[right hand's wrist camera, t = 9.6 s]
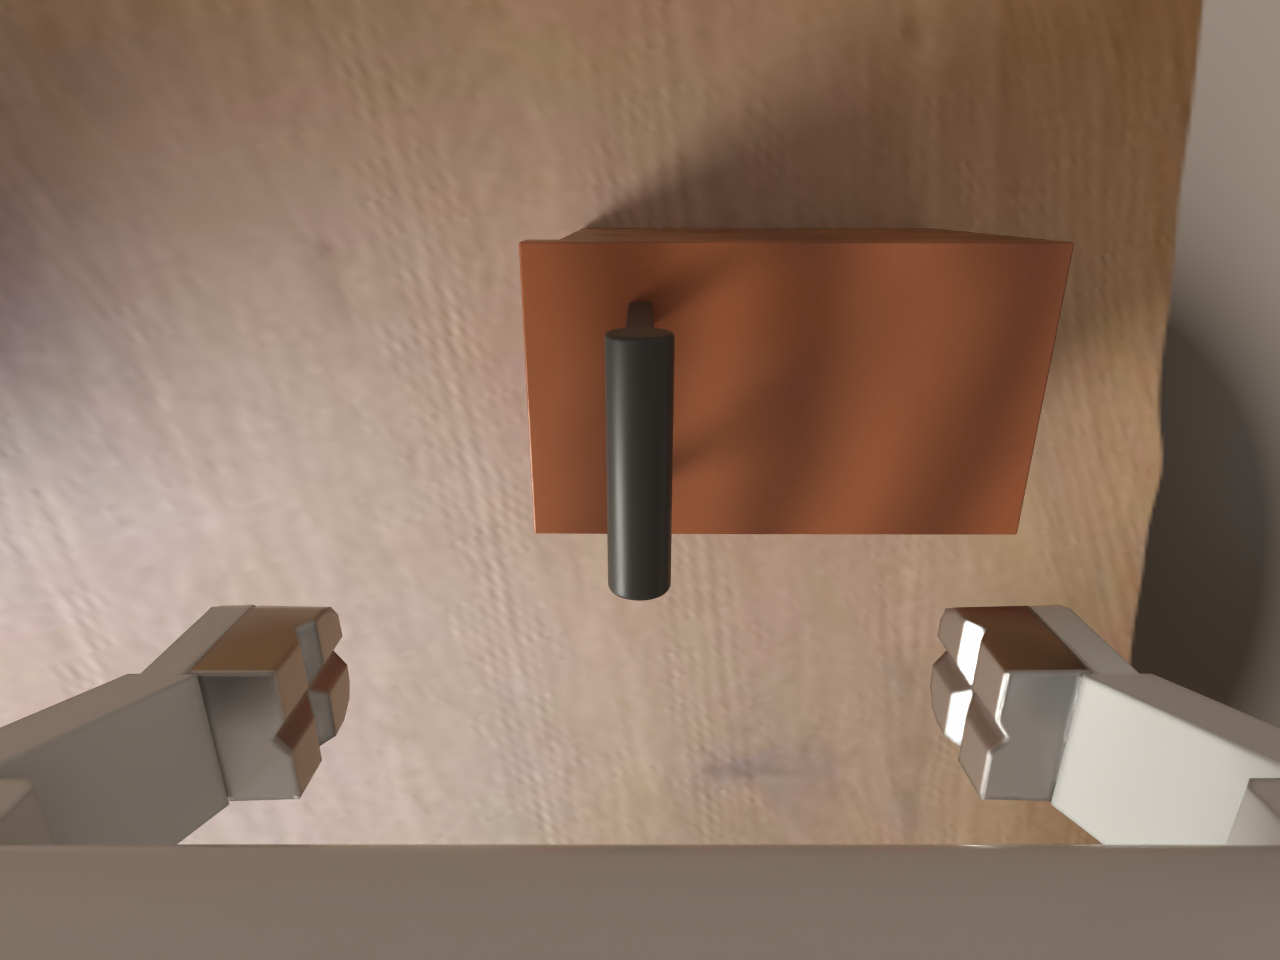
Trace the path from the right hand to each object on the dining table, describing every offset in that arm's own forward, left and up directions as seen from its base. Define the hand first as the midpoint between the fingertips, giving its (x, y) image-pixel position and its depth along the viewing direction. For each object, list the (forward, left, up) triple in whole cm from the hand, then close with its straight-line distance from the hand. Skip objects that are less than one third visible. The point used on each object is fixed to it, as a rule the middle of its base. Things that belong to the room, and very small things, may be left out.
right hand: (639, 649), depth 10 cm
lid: (+3, +4, -15) cm, 15 cm away
